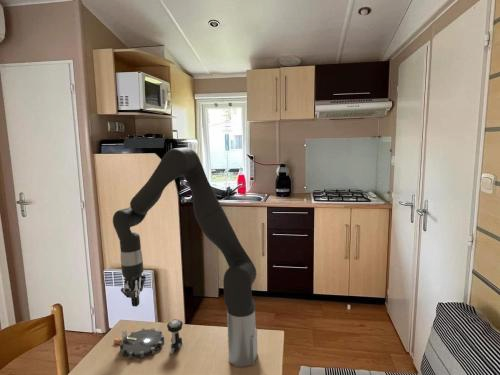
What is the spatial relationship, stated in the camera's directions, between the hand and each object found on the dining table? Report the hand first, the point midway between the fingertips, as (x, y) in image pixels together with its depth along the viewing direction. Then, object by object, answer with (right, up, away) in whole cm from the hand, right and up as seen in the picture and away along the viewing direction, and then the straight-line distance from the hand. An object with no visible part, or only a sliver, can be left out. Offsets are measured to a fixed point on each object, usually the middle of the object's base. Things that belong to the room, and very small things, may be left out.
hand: (135, 305), depth 117 cm
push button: (+17, -13, -7) cm, 22 cm away
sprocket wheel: (+4, -13, -5) cm, 14 cm away
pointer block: (-6, -13, -3) cm, 14 cm away
